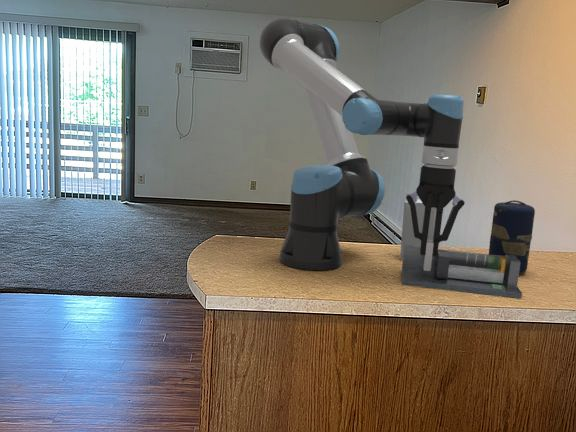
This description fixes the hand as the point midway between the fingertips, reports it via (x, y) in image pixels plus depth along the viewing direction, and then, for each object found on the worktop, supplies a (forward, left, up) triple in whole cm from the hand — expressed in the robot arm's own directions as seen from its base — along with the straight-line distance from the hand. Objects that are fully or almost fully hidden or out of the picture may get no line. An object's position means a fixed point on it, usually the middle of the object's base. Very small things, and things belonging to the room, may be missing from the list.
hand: (426, 269), depth 129 cm
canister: (+21, +17, -3) cm, 27 cm away
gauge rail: (+7, 0, -3) cm, 8 cm away
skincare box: (-1, +19, -3) cm, 19 cm away
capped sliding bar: (+9, 0, -1) cm, 9 cm away
